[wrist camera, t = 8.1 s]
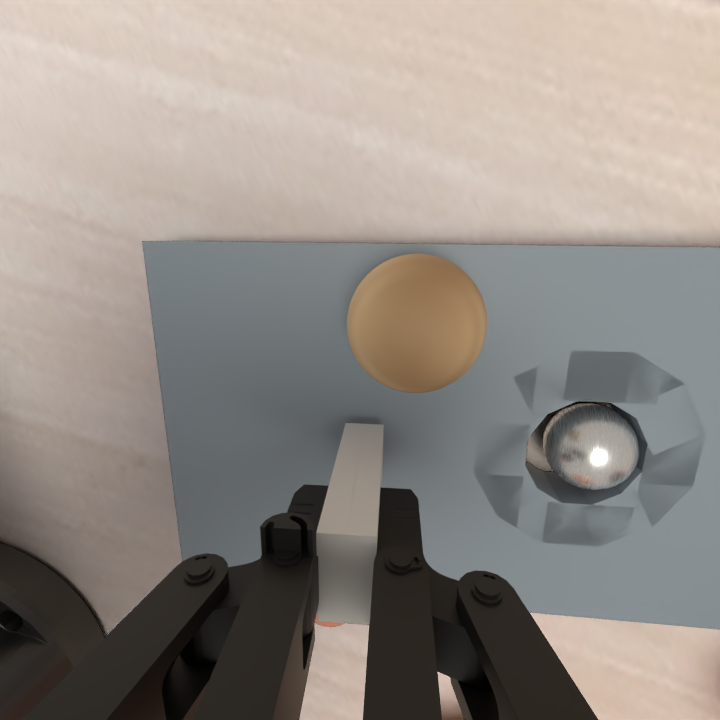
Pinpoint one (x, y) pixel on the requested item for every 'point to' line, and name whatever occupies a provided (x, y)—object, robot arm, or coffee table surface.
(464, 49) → the coffee table surface
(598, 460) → the steel ball
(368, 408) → the plate
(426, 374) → the wooden ball
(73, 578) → the coffee table surface
